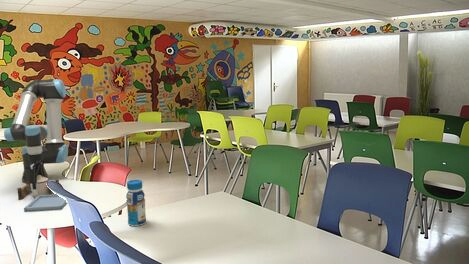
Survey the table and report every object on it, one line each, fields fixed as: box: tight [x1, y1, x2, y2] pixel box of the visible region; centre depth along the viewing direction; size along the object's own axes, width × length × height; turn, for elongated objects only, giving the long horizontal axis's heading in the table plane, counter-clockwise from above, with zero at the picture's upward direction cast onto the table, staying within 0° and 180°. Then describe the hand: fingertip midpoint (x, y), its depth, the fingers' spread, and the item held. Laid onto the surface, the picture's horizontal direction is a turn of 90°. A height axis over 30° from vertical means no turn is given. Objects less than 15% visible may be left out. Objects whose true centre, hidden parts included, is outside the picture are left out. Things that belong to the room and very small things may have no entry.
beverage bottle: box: [125, 179, 147, 227], centre depth 181 cm, size 8×8×20 cm
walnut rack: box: [16, 179, 60, 201], centre depth 226 cm, size 14×18×6 cm
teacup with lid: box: [31, 175, 50, 198], centre depth 226 cm, size 12×9×12 cm
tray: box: [23, 193, 68, 213], centre depth 211 cm, size 20×18×2 cm
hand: (39, 192), depth 226 cm, fingers open, 9 cm apart
